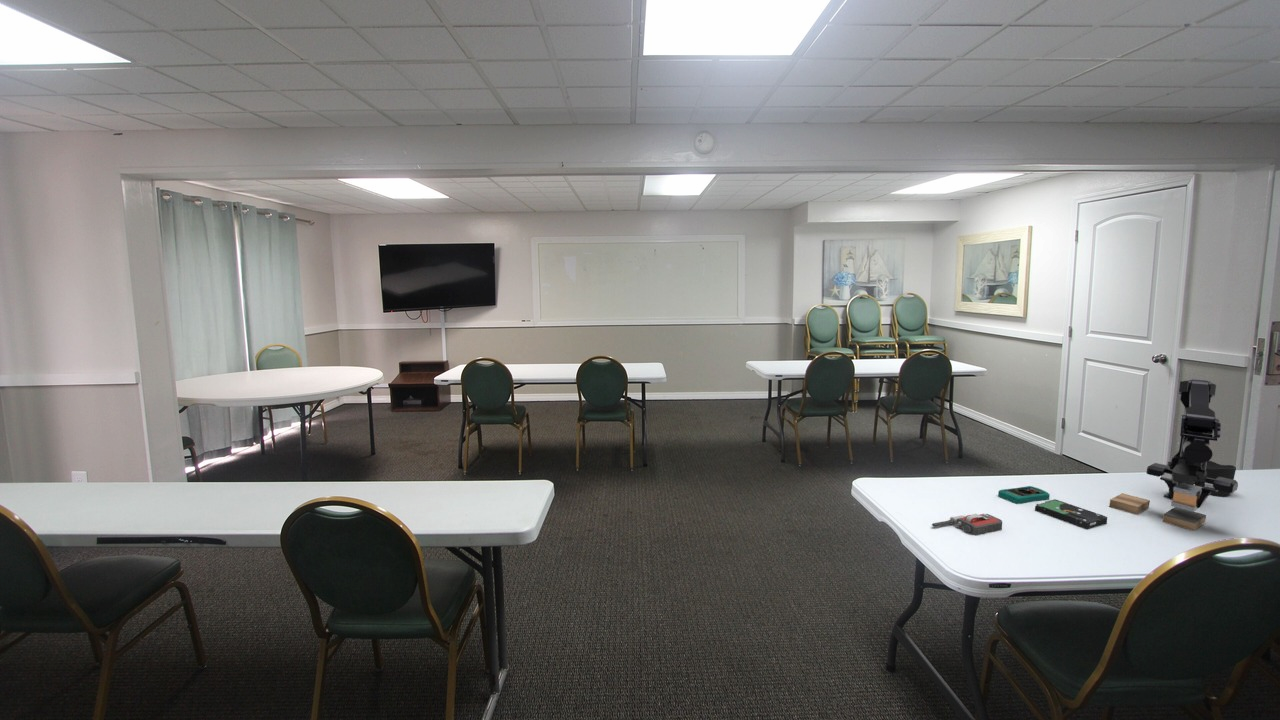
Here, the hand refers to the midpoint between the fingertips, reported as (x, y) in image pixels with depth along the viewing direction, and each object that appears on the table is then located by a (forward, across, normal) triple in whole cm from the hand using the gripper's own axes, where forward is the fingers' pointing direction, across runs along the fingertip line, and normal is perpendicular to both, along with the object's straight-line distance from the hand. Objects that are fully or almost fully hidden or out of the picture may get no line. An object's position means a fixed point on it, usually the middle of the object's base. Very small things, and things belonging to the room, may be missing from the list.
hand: (1186, 504), depth 167 cm
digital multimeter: (+6, -35, -20) cm, 41 cm away
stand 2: (+6, 0, 0) cm, 6 cm away
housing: (0, 0, 0) cm, 1 cm away
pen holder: (+6, -3, +41) cm, 41 cm away
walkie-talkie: (+6, -32, -60) cm, 68 cm away
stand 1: (+6, -13, 0) cm, 14 cm away
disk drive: (+6, -20, -25) cm, 32 cm away
